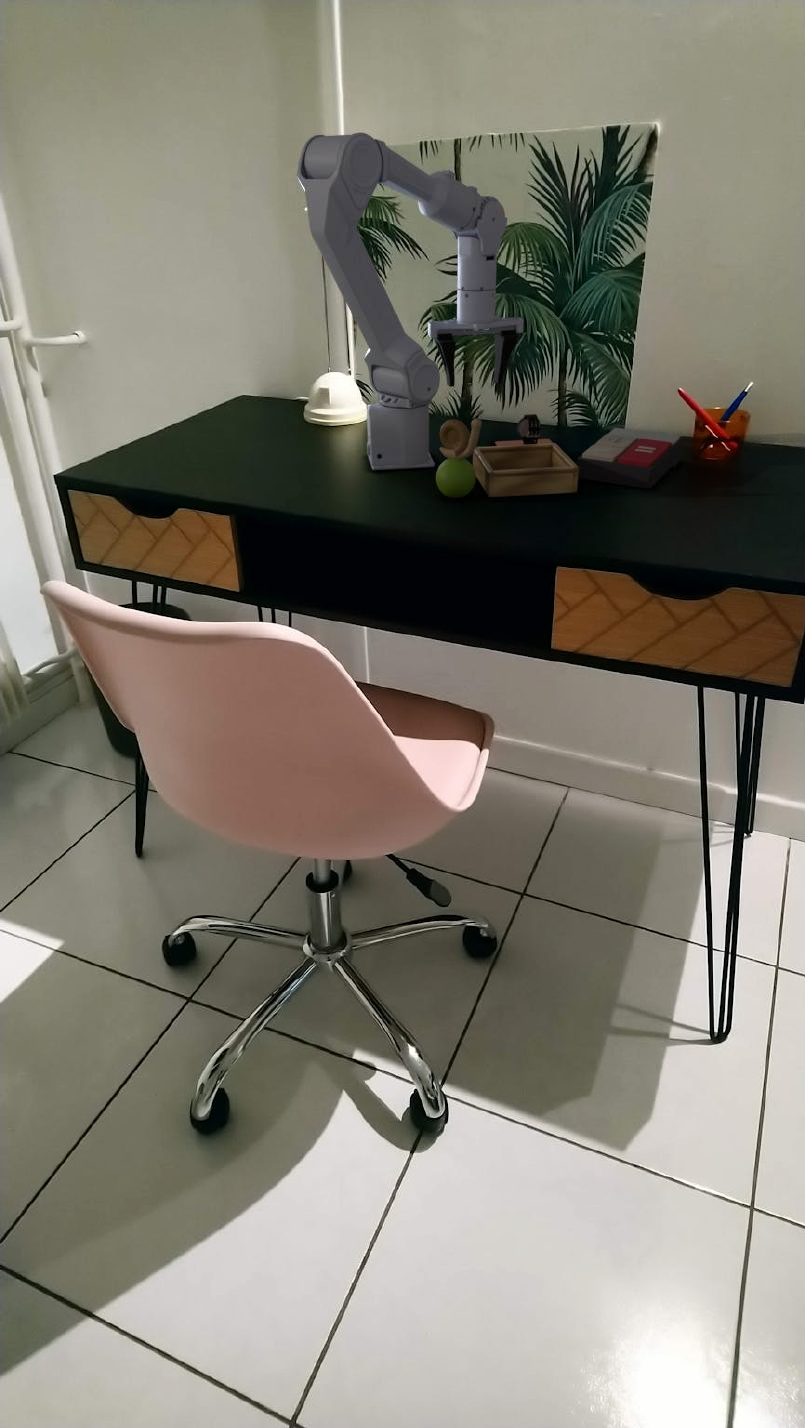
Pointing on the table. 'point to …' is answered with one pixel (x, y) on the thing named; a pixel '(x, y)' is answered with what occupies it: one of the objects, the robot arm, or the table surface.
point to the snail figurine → (457, 457)
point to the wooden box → (525, 470)
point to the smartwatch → (529, 429)
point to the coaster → (521, 442)
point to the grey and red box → (630, 457)
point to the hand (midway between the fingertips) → (474, 383)
